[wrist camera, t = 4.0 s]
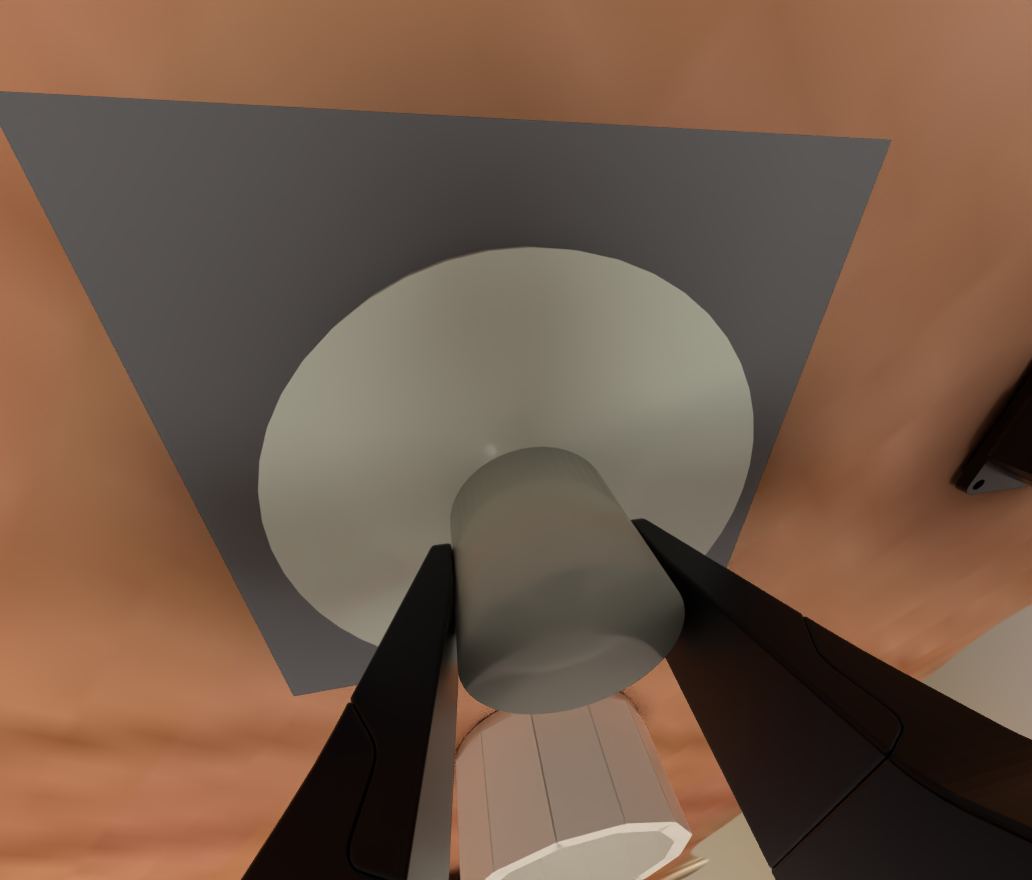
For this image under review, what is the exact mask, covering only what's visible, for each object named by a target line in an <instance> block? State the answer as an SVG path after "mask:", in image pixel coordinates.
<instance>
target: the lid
mask: <svg viewBox="0 0 1032 880" xmlns="http://www.w3.org/2000/svg"><path fill="white" fill-rule="evenodd" d="M752 447H753V409H752V402H751V396H750V389H749V386H748V383H747V380H746V377H745V374H744V371H743V368H742V365H741V362H740V360H739V359H738V357H737V355H736V353H735V351H734V349H733V347H732V345H731V344H730V342H729V340H728V338H727V337H726V335H725V334H724V333H723V332H722V330H721V329H720V328H719V327H718V325H717V324H716V323H715V321H714V320H713V319H712V318H711V316H710V315H709V314H708V313H707V312H706V311H705V310H704V309H702V308H701V307H700V306H699V305H698V304H697V303H696V302H695V301H693V300H692V299H691V298H690V297H689V296H688V295H687V294H686V293H684V292H683V291H681V290H680V289H678V288H676V287H675V286H673V285H671V284H670V283H668V282H667V281H665V280H663V279H662V278H660V277H658V276H657V275H655V274H653V273H651V272H648V271H646V270H643V269H641V268H638V267H636V266H633V265H631V264H628V263H626V262H623V261H621V260H618V259H614V258H609V257H605V256H600V255H596V254H591V253H587V252H582V251H577V250H570V249H562V248H547V247H532V246H520V247H508V248H496V249H485V250H481V251H477V252H472V253H468V254H464V255H460V256H455V257H451V258H447V259H444V260H441V261H439V262H436V263H434V264H431V265H429V266H426V267H424V268H421V269H419V270H416V271H414V272H411V273H409V274H407V275H405V276H403V277H402V278H400V279H398V280H397V281H395V282H393V283H391V284H390V285H388V286H386V287H385V288H383V289H381V290H379V291H378V292H376V293H374V294H373V295H371V296H370V297H369V298H368V299H366V300H365V301H364V302H363V303H362V304H360V305H359V306H358V307H357V308H355V309H354V310H353V311H352V312H350V313H349V314H348V315H347V316H345V317H344V318H343V319H342V320H341V321H340V322H339V323H338V324H337V325H336V326H334V327H333V328H332V329H331V330H330V331H329V333H328V334H327V335H326V336H325V337H324V338H323V339H322V340H321V341H320V342H319V344H318V345H317V346H316V347H315V348H314V349H313V350H312V351H311V352H310V353H309V355H308V356H307V357H306V358H305V359H304V360H303V361H302V363H301V364H300V366H299V367H298V369H297V370H296V372H295V374H294V375H293V377H292V378H291V380H290V381H289V383H288V384H287V386H286V387H285V389H284V391H283V392H282V394H281V396H280V398H279V401H278V403H277V405H276V408H275V410H274V412H273V415H272V417H271V419H270V422H269V424H268V426H267V430H266V434H265V438H264V443H263V447H262V451H261V456H260V460H259V481H258V496H259V503H260V510H261V517H262V523H263V526H264V529H265V532H266V535H267V538H268V541H269V544H270V547H271V550H272V552H273V554H274V555H275V557H276V559H277V561H278V563H279V565H280V567H281V568H282V570H283V572H284V574H285V575H286V576H287V578H288V579H289V580H290V582H291V583H292V584H293V586H294V587H295V588H296V589H297V591H298V592H299V593H300V595H301V596H303V597H304V598H305V599H306V600H307V601H308V602H309V603H310V604H311V605H312V606H313V607H314V608H315V609H316V610H317V611H318V612H319V613H321V614H322V615H323V616H325V617H326V618H327V619H329V620H330V621H332V622H333V623H334V624H336V625H337V626H338V627H340V628H342V629H343V630H345V631H347V632H349V633H351V634H352V635H354V636H356V637H358V638H360V639H362V640H364V641H366V642H369V643H371V644H374V645H376V646H379V644H380V642H381V640H382V638H383V636H384V634H385V633H386V631H387V629H388V627H389V625H390V623H391V621H392V619H393V617H394V616H395V614H396V612H397V610H398V608H399V606H400V604H401V602H402V601H403V599H404V597H405V595H406V593H407V591H408V589H409V587H410V585H411V584H412V582H413V580H414V578H415V576H416V574H417V572H418V570H419V569H420V567H421V565H422V563H423V561H424V559H425V557H426V555H427V553H428V552H429V550H430V548H431V547H432V546H433V545H438V544H445V543H449V544H451V546H452V559H453V578H454V597H455V625H456V645H457V664H458V674H459V678H460V681H461V683H462V685H463V686H464V688H465V689H466V691H467V692H468V693H469V694H470V695H471V696H472V697H473V698H475V699H476V700H477V701H479V702H480V703H482V704H484V705H486V706H488V707H491V708H493V709H496V710H500V711H504V712H508V713H515V714H530V715H531V714H548V713H557V712H562V711H568V710H572V709H576V708H580V707H583V706H586V705H589V704H593V703H595V702H598V701H600V700H603V699H605V698H608V697H610V696H612V695H614V694H616V693H618V692H620V691H622V690H624V689H625V688H627V687H629V686H631V685H632V684H634V683H635V682H637V681H638V680H640V679H641V678H642V677H644V676H645V675H646V674H648V673H649V672H650V671H651V670H652V669H654V668H655V667H656V666H657V665H658V664H659V663H660V662H661V661H662V660H663V659H664V658H665V657H666V655H667V654H668V653H669V652H670V650H671V649H672V648H673V646H674V644H675V643H676V641H677V639H678V637H679V635H680V633H681V630H682V627H683V623H684V617H685V609H684V602H683V600H682V597H681V595H680V593H679V591H678V590H677V588H676V587H675V585H674V584H673V582H672V581H671V579H670V578H669V576H668V575H667V574H666V572H665V571H664V569H663V568H662V566H661V565H660V563H659V562H658V560H657V559H656V557H655V556H654V554H653V553H652V551H651V550H650V548H649V547H648V545H647V544H646V542H645V541H644V539H643V538H642V536H641V535H640V534H639V532H638V531H637V529H636V528H635V526H634V525H633V523H632V522H631V519H639V518H644V519H646V520H648V521H650V522H651V523H653V524H655V525H656V526H658V527H660V528H661V529H663V530H665V531H666V532H668V533H669V534H671V535H673V536H674V537H676V538H678V539H679V540H681V541H683V542H684V543H686V544H688V545H689V546H691V547H692V548H694V549H696V550H697V551H699V552H701V553H702V554H704V555H706V554H707V552H708V551H709V550H710V548H711V547H712V545H713V544H714V543H715V541H716V540H717V538H718V537H719V536H720V534H721V533H722V531H723V529H724V527H725V526H726V524H727V522H728V520H729V519H730V517H731V515H732V513H733V511H734V509H735V507H736V504H737V502H738V500H739V497H740V495H741V493H742V490H743V487H744V484H745V480H746V477H747V473H748V470H749V466H750V460H751V454H752Z"/></svg>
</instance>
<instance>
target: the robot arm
mask: <svg viewBox="0 0 1032 880" xmlns="http://www.w3.org/2000/svg"><path fill="white" fill-rule="evenodd" d="M1029 486H1031V487H1032V374H1031V375H1030V377H1029V378H1028V379H1027V381H1026V382H1025V384H1024V385H1023V387H1022V388H1021V390H1020V391H1019V392H1018V394H1017V395H1016V397H1015V398H1014V400H1013V401H1012V403H1011V404H1010V405H1009V407H1008V408H1007V410H1006V411H1005V413H1004V414H1003V416H1002V417H1001V418H1000V420H999V421H998V423H997V424H996V426H995V427H994V428H993V430H992V431H991V433H990V434H989V436H988V437H987V439H986V440H985V441H984V443H983V444H982V446H981V447H980V449H979V450H978V452H977V453H976V454H975V456H974V457H973V459H972V460H971V462H970V463H969V465H968V466H967V467H966V469H965V470H964V472H963V473H962V475H961V476H960V477H959V479H958V480H957V482H956V485H955V487H956V488H957V489H959V490H961V491H963V492H965V493H967V494H971V495H972V494H979V493H986V492H993V491H1000V490H1008V489H1015V488H1022V487H1029ZM631 522H632V523H633V525H634V526H635V528H636V529H637V531H638V532H639V534H640V535H641V536H642V538H643V539H644V541H645V542H646V544H647V545H648V547H649V548H650V550H651V551H652V553H653V554H654V556H655V557H656V559H657V560H658V562H659V563H660V565H661V566H662V568H663V569H664V571H665V572H666V574H667V575H668V576H669V578H670V579H671V581H672V582H673V584H674V585H675V587H676V588H677V590H678V591H679V593H680V595H681V597H682V600H683V602H684V609H685V617H684V623H683V627H682V630H681V633H680V635H679V637H678V639H677V641H676V643H675V644H674V646H673V648H672V649H671V650H670V652H669V653H668V654H667V655H666V657H665V658H666V660H667V662H668V664H669V666H670V668H671V670H672V672H673V674H674V676H675V678H676V680H677V682H678V684H679V686H680V688H681V690H682V692H683V694H684V696H685V698H686V700H687V702H688V704H689V706H690V708H691V710H692V712H693V714H694V716H695V718H696V720H697V722H698V724H699V726H700V728H701V730H702V732H703V734H704V736H705V738H706V740H707V742H708V744H709V746H710V748H711V750H712V752H713V754H714V756H715V758H716V760H717V762H718V764H719V766H720V768H721V770H722V772H723V774H724V776H725V778H726V780H727V782H728V784H729V786H730V788H731V790H732V792H733V794H734V796H735V798H736V800H737V802H738V804H739V807H740V809H741V811H742V813H743V815H744V816H745V818H746V821H747V823H748V824H749V826H750V828H751V831H752V833H753V834H754V837H755V838H756V841H757V843H758V844H759V847H760V849H761V851H762V853H763V855H764V857H765V859H766V861H767V863H768V865H769V866H770V868H772V873H773V875H774V877H775V879H776V880H1032V740H1031V739H1029V738H1027V737H1024V736H1022V735H1020V734H1018V733H1016V732H1014V731H1012V730H1010V729H1008V728H1006V727H1004V726H1002V725H1000V724H998V723H996V722H994V721H992V720H991V719H989V718H987V717H985V716H983V715H981V714H979V713H977V712H976V711H974V710H972V709H970V708H968V707H966V706H964V705H963V704H961V703H959V702H957V701H955V700H953V699H951V698H950V697H948V696H946V695H944V694H942V693H940V692H938V691H937V690H935V689H933V688H931V687H929V686H927V685H925V684H924V683H922V682H920V681H918V680H916V679H914V678H912V677H910V676H909V675H907V674H905V673H903V672H901V671H899V670H898V669H896V668H894V667H892V666H890V665H889V664H887V663H885V662H883V661H881V660H879V659H878V658H876V657H874V656H872V655H870V654H869V653H867V652H865V651H863V650H861V649H860V648H858V647H856V646H855V645H853V644H851V643H849V642H848V641H846V640H844V639H843V638H841V637H839V636H838V635H836V634H834V633H833V632H831V631H829V630H827V629H826V628H824V627H822V626H821V625H819V624H818V623H816V622H814V621H813V620H811V619H809V618H808V617H803V616H802V614H801V613H799V612H798V611H796V610H794V609H793V608H791V607H789V606H788V605H786V604H784V603H783V602H781V601H780V600H778V599H776V598H775V597H773V596H771V595H770V594H768V593H766V592H765V591H763V590H761V589H760V588H758V587H757V586H755V585H753V584H752V583H750V582H748V581H747V580H745V579H743V578H742V577H740V576H738V575H737V574H735V573H734V572H732V571H730V570H729V569H727V568H725V567H724V566H722V565H720V564H719V563H717V562H715V561H714V560H712V559H711V558H709V557H707V556H706V555H704V554H702V553H701V552H699V551H697V550H696V549H694V548H692V547H691V546H689V545H688V544H686V543H684V542H683V541H681V540H679V539H678V538H676V537H674V536H673V535H671V534H669V533H668V532H666V531H665V530H663V529H661V528H660V527H658V526H656V525H655V524H653V523H651V522H650V521H648V520H646V519H644V518H639V519H631ZM458 675H459V674H458V664H457V645H456V625H455V597H454V578H453V559H452V546H451V544H449V543H445V544H438V545H433V546H432V547H431V548H430V550H429V552H428V553H427V555H426V557H425V559H424V561H423V563H422V565H421V567H420V569H419V570H418V572H417V574H416V576H415V578H414V580H413V582H412V584H411V585H410V587H409V589H408V591H407V593H406V595H405V597H404V599H403V601H402V602H401V604H400V606H399V608H398V610H397V612H396V614H395V616H394V617H393V619H392V621H391V623H390V625H389V627H388V629H387V631H386V633H385V634H384V636H383V638H382V640H381V642H380V644H379V646H378V648H377V649H376V651H375V653H374V655H373V657H372V659H371V661H370V663H369V664H368V666H367V668H366V670H365V672H364V674H363V676H362V678H361V680H360V681H359V683H358V685H357V687H356V689H355V691H354V693H353V695H352V696H351V702H350V703H348V704H347V705H346V707H345V709H344V711H343V713H342V715H341V717H340V719H339V721H338V722H337V724H336V726H335V728H334V730H333V732H332V733H331V735H330V737H329V739H328V741H327V742H326V744H325V746H324V748H323V749H322V751H321V753H320V755H319V756H318V758H317V760H316V762H315V764H314V765H313V767H312V769H311V770H310V772H309V774H308V775H307V777H306V778H305V780H304V782H303V783H302V785H301V786H300V788H299V790H298V791H297V793H296V794H295V796H294V798H293V799H292V801H291V802H290V804H289V806H288V807H287V809H286V811H285V812H284V814H283V815H282V817H281V818H280V820H279V821H278V823H277V825H276V826H275V828H274V829H273V831H272V832H271V834H270V835H269V837H268V838H267V840H266V842H265V843H264V845H263V846H262V848H261V849H260V851H259V852H258V854H257V855H256V857H255V859H254V860H253V862H252V863H251V865H250V866H249V868H248V869H247V871H246V872H245V874H244V876H243V877H242V879H241V880H449V864H450V843H451V822H452V801H453V780H454V759H455V738H456V717H457V696H458Z"/></svg>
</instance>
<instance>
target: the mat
mask: <svg viewBox="0 0 1032 880" xmlns="http://www.w3.org/2000/svg"><path fill="white" fill-rule="evenodd" d="M0 126H1V128H2V130H3V132H4V134H5V136H6V138H7V140H8V142H9V144H10V146H11V148H12V149H13V151H14V153H15V155H16V157H17V159H18V161H19V163H20V165H21V167H22V169H23V171H24V173H25V175H26V177H27V179H28V181H29V183H30V184H31V186H32V188H33V190H34V192H35V194H36V196H37V198H38V200H39V202H40V204H41V206H42V208H43V210H44V212H45V214H46V216H47V218H48V219H49V221H50V223H51V225H52V227H53V229H54V231H55V233H56V235H57V237H58V239H59V241H60V243H61V245H62V247H63V249H64V251H65V253H66V254H67V256H68V258H69V260H70V262H71V264H72V266H73V268H74V270H75V272H76V274H77V276H78V278H79V280H80V282H81V284H82V286H83V288H84V289H85V291H86V293H87V295H88V297H89V299H90V301H91V303H92V305H93V307H94V309H95V311H96V313H97V315H98V317H99V319H100V321H101V323H102V324H103V326H104V328H105V330H106V332H107V334H108V336H109V338H110V340H111V342H112V344H113V346H114V348H115V350H116V352H117V354H118V356H119V358H120V359H121V361H122V363H123V365H124V367H125V369H126V371H127V373H128V375H129V377H130V379H131V381H132V383H133V385H134V387H135V389H136V391H137V393H138V394H139V396H140V398H141V400H142V402H143V404H144V406H145V408H146V410H147V412H148V414H149V416H150V418H151V420H152V422H153V424H154V426H155V427H156V429H157V431H158V433H159V435H160V437H161V439H162V441H163V443H164V445H165V447H166V449H167V451H168V453H169V455H170V457H171V459H172V461H173V462H174V464H175V466H176V468H177V470H178V472H179V474H180V476H181V478H182V480H183V482H184V484H185V486H186V488H187V490H188V492H189V494H190V496H191V497H192V499H193V501H194V503H195V505H196V507H197V509H198V511H199V513H200V515H201V517H202V519H203V521H204V523H205V525H206V527H207V529H208V531H209V532H210V534H211V536H212V538H213V540H214V542H215V544H216V546H217V548H218V550H219V552H220V554H221V556H222V558H223V560H224V562H225V564H226V566H227V567H228V569H229V571H230V573H231V575H232V577H233V579H234V581H235V583H236V585H237V587H238V589H239V591H240V593H241V595H242V597H243V599H244V601H245V602H246V604H247V606H248V608H249V610H250V612H251V614H252V616H253V618H254V620H255V622H256V624H257V626H258V628H259V630H260V632H261V634H262V636H263V637H264V639H265V641H266V643H267V645H268V647H269V649H270V651H271V653H272V655H273V657H274V659H275V661H276V663H277V665H278V667H279V669H280V671H281V672H282V674H283V676H284V678H285V680H286V682H287V684H288V686H289V688H290V690H291V692H292V694H293V696H298V695H304V694H309V693H315V692H320V691H325V690H331V689H336V688H342V687H347V686H353V685H358V683H359V681H360V680H361V678H362V676H363V674H364V672H365V670H366V668H367V666H368V664H369V663H370V661H371V659H372V657H373V655H374V653H375V651H376V649H377V648H378V646H376V645H374V644H371V643H369V642H366V641H364V640H362V639H360V638H358V637H356V636H354V635H352V634H351V633H349V632H347V631H345V630H343V629H342V628H340V627H338V626H337V625H336V624H334V623H333V622H332V621H330V620H329V619H327V618H326V617H325V616H323V615H322V614H321V613H319V612H318V611H317V610H316V609H315V608H314V607H313V606H312V605H311V604H310V603H309V602H308V601H307V600H306V599H305V598H304V597H303V596H301V595H300V593H299V592H298V591H297V589H296V588H295V587H294V586H293V584H292V583H291V582H290V580H289V579H288V578H287V576H286V575H285V574H284V572H283V570H282V568H281V567H280V565H279V563H278V561H277V559H276V557H275V555H274V554H273V552H272V550H271V547H270V544H269V541H268V538H267V535H266V532H265V529H264V526H263V523H262V517H261V510H260V503H259V496H258V481H259V460H260V456H261V451H262V447H263V443H264V438H265V434H266V430H267V426H268V424H269V422H270V419H271V417H272V415H273V412H274V410H275V408H276V405H277V403H278V401H279V398H280V396H281V394H282V392H283V391H284V389H285V387H286V386H287V384H288V383H289V381H290V380H291V378H292V377H293V375H294V374H295V372H296V370H297V369H298V367H299V366H300V364H301V363H302V361H303V360H304V359H305V358H306V357H307V356H308V355H309V353H310V352H311V351H312V350H313V349H314V348H315V347H316V346H317V345H318V344H319V342H320V341H321V340H322V339H323V338H324V337H325V336H326V335H327V334H328V333H329V331H330V330H331V329H332V328H333V327H334V326H336V325H337V324H338V323H339V322H340V321H341V320H342V319H343V318H344V317H345V316H347V315H348V314H349V313H350V312H352V311H353V310H354V309H355V308H357V307H358V306H359V305H360V304H362V303H363V302H364V301H365V300H366V299H368V298H369V297H370V296H371V295H373V294H374V293H376V292H378V291H379V290H381V289H383V288H385V287H386V286H388V285H390V284H391V283H393V282H395V281H397V280H398V279H400V278H402V277H403V276H405V275H407V274H409V273H411V272H414V271H416V270H419V269H421V268H424V267H426V266H429V265H431V264H434V263H436V262H439V261H441V260H444V259H447V258H451V257H455V256H460V255H464V254H468V253H472V252H477V251H481V250H485V249H496V248H508V247H520V246H532V247H547V248H562V249H570V250H577V251H582V252H587V253H591V254H596V255H600V256H605V257H609V258H614V259H618V260H621V261H623V262H626V263H628V264H631V265H633V266H636V267H638V268H641V269H643V270H646V271H648V272H651V273H653V274H655V275H657V276H658V277H660V278H662V279H663V280H665V281H667V282H668V283H670V284H671V285H673V286H675V287H676V288H678V289H680V290H681V291H683V292H684V293H686V294H687V295H688V296H689V297H690V298H691V299H692V300H693V301H695V302H696V303H697V304H698V305H699V306H700V307H701V308H702V309H704V310H705V311H706V312H707V313H708V314H709V315H710V316H711V318H712V319H713V320H714V321H715V323H716V324H717V325H718V327H719V328H720V329H721V330H722V332H723V333H724V334H725V335H726V337H727V338H728V340H729V342H730V344H731V345H732V347H733V349H734V351H735V353H736V355H737V357H738V359H739V360H740V362H741V365H742V368H743V371H744V374H745V377H746V380H747V383H748V386H749V389H750V396H751V402H752V409H753V447H752V454H751V460H750V466H749V470H748V473H747V477H746V480H745V484H744V487H743V490H742V493H741V495H740V497H739V500H738V502H737V504H736V507H735V509H734V511H733V513H732V515H731V517H730V519H729V520H728V522H727V524H726V526H725V527H724V529H723V531H722V533H721V534H720V536H719V537H718V538H717V540H716V541H715V543H714V544H713V545H712V547H711V548H710V550H709V551H708V552H707V554H706V556H707V557H709V558H711V559H712V560H714V561H715V562H717V563H719V564H720V565H722V566H724V567H725V568H726V567H727V565H728V562H729V560H730V557H731V554H732V552H733V549H734V547H735V544H736V542H737V539H738V536H739V534H740V531H741V529H742V526H743V523H744V521H745V518H746V516H747V513H748V510H749V508H750V505H751V503H752V500H753V497H754V495H755V492H756V490H757V487H758V485H759V482H760V479H761V477H762V474H763V472H764V469H765V466H766V464H767V461H768V459H769V456H770V453H771V451H772V448H773V446H774V443H775V441H776V438H777V435H778V433H779V430H780V428H781V425H782V422H783V420H784V417H785V415H786V412H787V409H788V407H789V404H790V402H791V399H792V396H793V394H794V391H795V389H796V386H797V384H798V381H799V378H800V376H801V373H802V371H803V368H804V365H805V363H806V360H807V358H808V355H809V352H810V350H811V347H812V345H813V342H814V339H815V337H816V334H817V332H818V329H819V327H820V324H821V321H822V319H823V316H824V314H825V311H826V308H827V306H828V303H829V301H830V298H831V295H832V293H833V290H834V288H835V285H836V283H837V280H838V277H839V275H840V272H841V270H842V267H843V264H844V262H845V259H846V257H847V254H848V251H849V249H850V246H851V244H852V241H853V238H854V236H855V233H856V231H857V228H858V226H859V223H860V220H861V218H862V215H863V213H864V210H865V207H866V205H867V202H868V200H869V197H870V194H871V192H872V189H873V187H874V184H875V181H876V179H877V176H878V174H879V171H880V169H881V166H882V163H883V161H884V158H885V156H886V153H887V150H888V148H889V145H890V143H891V140H885V139H867V138H849V137H830V136H812V135H794V134H775V133H757V132H739V131H720V130H702V129H684V128H665V127H647V126H629V125H610V124H592V123H574V122H555V121H537V120H519V119H500V118H482V117H464V116H445V115H427V114H409V113H390V112H372V111H354V110H335V109H317V108H299V107H280V106H262V105H244V104H225V103H207V102H189V101H170V100H152V99H134V98H115V97H97V96H79V95H60V94H42V93H24V92H5V91H0Z"/></svg>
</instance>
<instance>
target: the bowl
mask: <svg viewBox="0 0 1032 880" xmlns="http://www.w3.org/2000/svg"><path fill="white" fill-rule="evenodd" d="M456 784H457V810H458V835H459V860H460V880H643V879H645V878H647V877H648V876H649V875H651V874H652V873H654V872H655V871H657V870H658V869H660V868H661V867H663V866H664V865H666V864H667V863H669V862H670V861H672V860H673V859H675V858H676V857H678V856H679V855H680V854H681V852H682V850H683V849H684V847H685V846H686V844H687V843H688V841H689V839H690V838H691V836H692V832H691V830H690V828H689V825H688V823H687V821H686V818H685V816H684V814H683V811H682V809H681V807H680V804H679V802H678V800H677V797H676V795H675V793H674V790H673V788H672V786H671V783H670V781H669V779H668V776H667V774H666V771H665V769H664V767H663V764H662V762H661V760H660V757H659V755H658V753H657V750H656V748H655V746H654V743H653V741H652V739H651V736H650V734H649V732H648V729H647V727H646V725H645V722H644V720H643V718H642V717H641V716H640V715H639V714H638V713H637V710H636V708H635V706H634V704H633V703H632V701H631V700H630V699H629V698H628V697H627V696H625V695H623V694H622V693H620V692H618V693H616V694H614V695H612V696H610V697H608V698H605V699H603V700H600V701H598V702H595V703H593V704H589V705H586V706H583V707H580V708H576V709H572V710H568V711H562V712H557V713H548V714H531V715H530V714H515V713H508V712H504V711H500V710H499V711H497V712H495V713H493V714H492V715H490V716H489V717H487V718H486V719H484V720H483V721H482V722H480V723H479V724H478V725H477V726H476V727H474V728H473V729H472V730H471V732H470V733H469V734H468V735H467V736H466V737H465V739H464V740H463V741H462V743H461V745H460V747H459V749H458V753H457V760H456Z"/></svg>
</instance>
